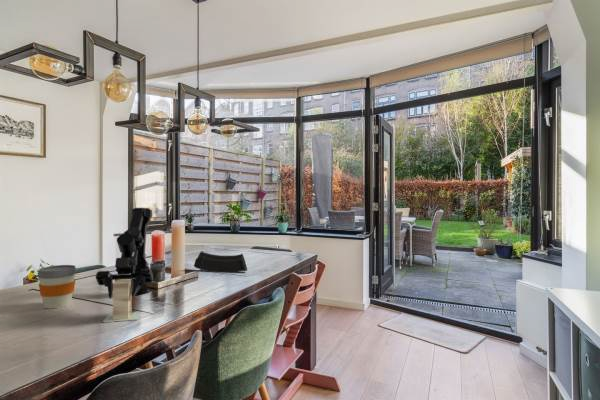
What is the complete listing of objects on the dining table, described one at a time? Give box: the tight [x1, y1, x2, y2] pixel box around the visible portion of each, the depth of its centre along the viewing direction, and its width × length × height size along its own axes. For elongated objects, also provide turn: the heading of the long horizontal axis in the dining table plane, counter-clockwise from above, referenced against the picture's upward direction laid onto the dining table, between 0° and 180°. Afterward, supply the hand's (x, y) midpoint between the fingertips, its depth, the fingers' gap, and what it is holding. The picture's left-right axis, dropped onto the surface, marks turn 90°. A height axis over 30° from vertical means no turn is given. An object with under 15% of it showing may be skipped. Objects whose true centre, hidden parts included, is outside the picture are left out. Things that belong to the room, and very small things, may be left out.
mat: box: [102, 311, 142, 323], centre depth 127 cm, size 8×11×1 cm
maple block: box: [112, 279, 133, 320], centre depth 127 cm, size 5×5×13 cm
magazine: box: [193, 250, 248, 273], centre depth 203 cm, size 18×3×31 cm
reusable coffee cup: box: [37, 264, 77, 309], centre depth 140 cm, size 13×13×15 cm
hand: (121, 297), depth 125 cm, fingers open, 7 cm apart
